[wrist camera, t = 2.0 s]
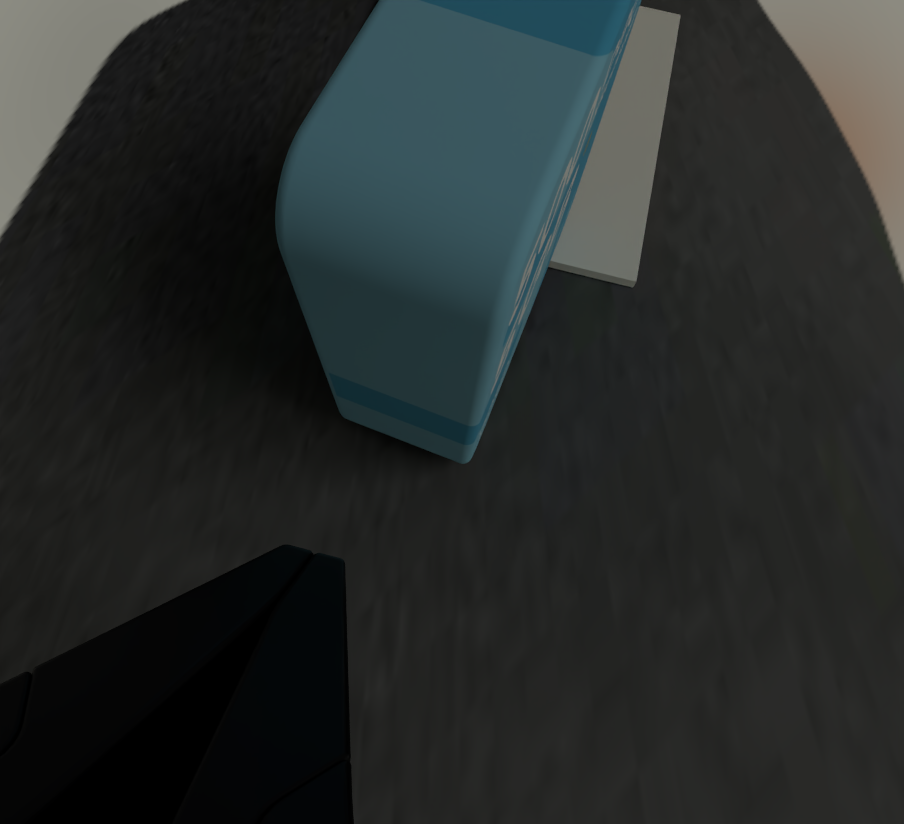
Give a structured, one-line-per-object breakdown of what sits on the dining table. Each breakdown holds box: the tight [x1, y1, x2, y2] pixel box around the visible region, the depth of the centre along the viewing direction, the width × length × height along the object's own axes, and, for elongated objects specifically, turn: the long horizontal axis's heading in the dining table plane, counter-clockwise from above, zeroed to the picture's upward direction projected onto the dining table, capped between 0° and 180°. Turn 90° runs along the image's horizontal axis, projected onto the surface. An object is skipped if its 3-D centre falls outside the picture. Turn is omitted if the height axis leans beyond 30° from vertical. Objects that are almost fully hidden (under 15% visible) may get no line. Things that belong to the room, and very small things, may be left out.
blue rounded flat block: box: [275, 0, 641, 464], centre depth 17 cm, size 12×4×12 cm, turn 159°
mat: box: [548, 6, 680, 288], centre depth 27 cm, size 16×14×1 cm
